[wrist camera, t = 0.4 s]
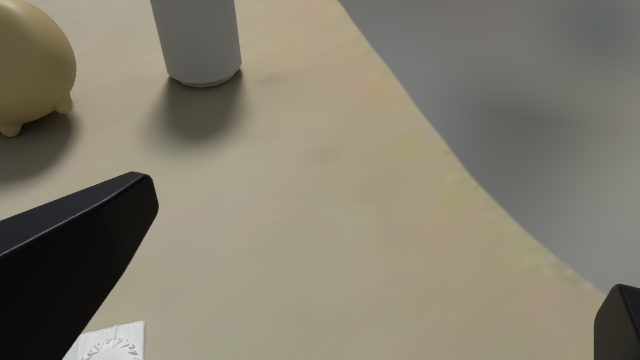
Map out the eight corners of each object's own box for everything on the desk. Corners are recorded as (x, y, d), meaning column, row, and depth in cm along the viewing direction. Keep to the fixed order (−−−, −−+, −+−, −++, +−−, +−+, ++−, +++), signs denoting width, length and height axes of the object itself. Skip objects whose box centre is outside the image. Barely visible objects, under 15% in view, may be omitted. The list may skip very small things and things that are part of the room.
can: (173, 58, 51) (146, -63, 43) (243, 54, 51) (228, -66, 44) (164, 93, 45) (130, -38, 37) (242, 89, 46) (225, -42, 38)
